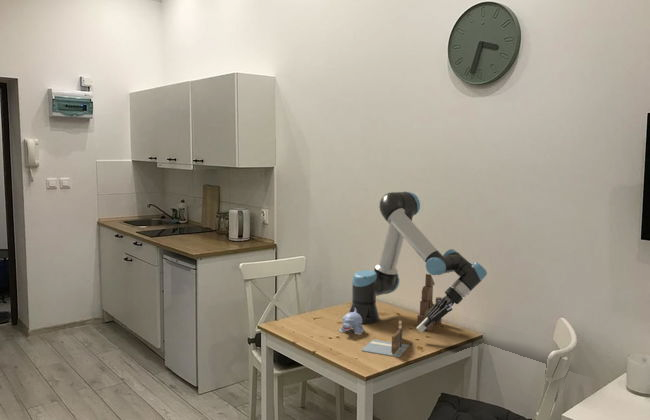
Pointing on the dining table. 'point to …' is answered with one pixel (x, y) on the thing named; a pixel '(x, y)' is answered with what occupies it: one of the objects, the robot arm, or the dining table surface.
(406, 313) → the dining table surface
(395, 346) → the fence fixed
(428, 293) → the wooden toy
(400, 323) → the fence panel
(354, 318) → the hippopotamus toy
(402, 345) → the card
